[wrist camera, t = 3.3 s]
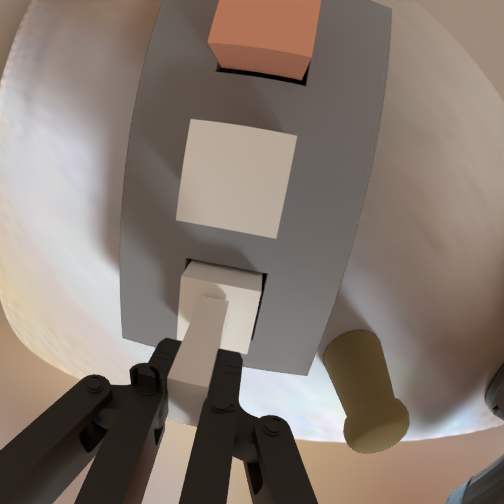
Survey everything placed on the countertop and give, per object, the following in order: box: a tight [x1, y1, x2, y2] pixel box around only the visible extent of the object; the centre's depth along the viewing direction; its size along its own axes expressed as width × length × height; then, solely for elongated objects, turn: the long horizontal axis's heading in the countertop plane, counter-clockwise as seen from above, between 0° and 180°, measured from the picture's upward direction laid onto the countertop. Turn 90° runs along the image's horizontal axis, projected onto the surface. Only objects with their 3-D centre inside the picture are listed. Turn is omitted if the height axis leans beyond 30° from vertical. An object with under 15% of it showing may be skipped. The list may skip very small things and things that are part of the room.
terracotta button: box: [207, 0, 321, 80], centre depth 11 cm, size 4×4×4 cm
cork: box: [323, 330, 410, 453], centre depth 21 cm, size 6×6×11 cm
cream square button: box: [177, 259, 262, 354], centre depth 18 cm, size 4×4×4 cm
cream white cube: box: [176, 119, 297, 239], centre depth 13 cm, size 4×4×4 cm
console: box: [120, 0, 392, 376], centre depth 18 cm, size 14×26×6 cm, turn 170°
